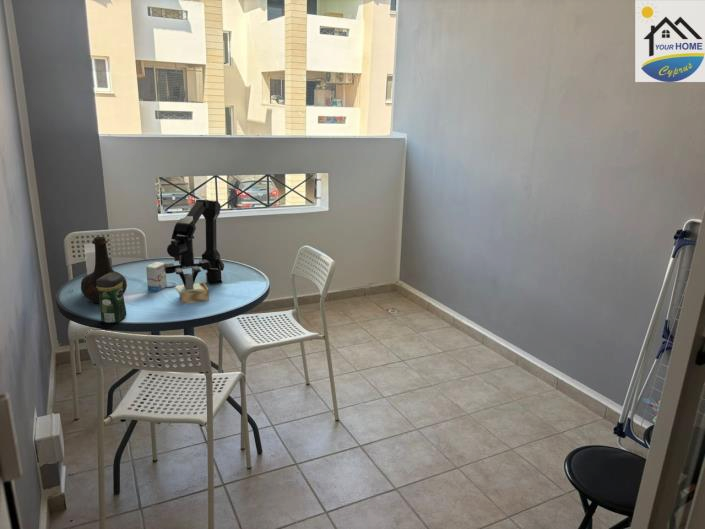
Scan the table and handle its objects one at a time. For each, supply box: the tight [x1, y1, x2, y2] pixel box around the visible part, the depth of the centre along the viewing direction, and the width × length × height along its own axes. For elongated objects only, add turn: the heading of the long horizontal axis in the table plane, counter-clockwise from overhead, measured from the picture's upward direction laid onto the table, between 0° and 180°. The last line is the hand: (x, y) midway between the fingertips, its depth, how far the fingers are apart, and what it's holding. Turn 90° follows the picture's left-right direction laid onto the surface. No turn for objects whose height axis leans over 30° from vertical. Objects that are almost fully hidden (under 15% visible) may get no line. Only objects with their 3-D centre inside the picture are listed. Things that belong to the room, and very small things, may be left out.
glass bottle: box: [80, 236, 128, 304], centre depth 220 cm, size 18×18×28 cm
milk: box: [83, 243, 95, 275], centre depth 231 cm, size 6×6×22 cm
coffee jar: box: [96, 272, 128, 324], centre depth 202 cm, size 10×8×19 cm
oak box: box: [178, 282, 210, 305], centre depth 227 cm, size 11×10×5 cm
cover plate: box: [175, 272, 202, 294], centre depth 225 cm, size 10×8×6 cm
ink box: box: [145, 261, 168, 293], centre depth 237 cm, size 9×5×12 cm, turn 168°
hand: (188, 285), depth 225 cm, fingers closed on cover plate, 3 cm apart
